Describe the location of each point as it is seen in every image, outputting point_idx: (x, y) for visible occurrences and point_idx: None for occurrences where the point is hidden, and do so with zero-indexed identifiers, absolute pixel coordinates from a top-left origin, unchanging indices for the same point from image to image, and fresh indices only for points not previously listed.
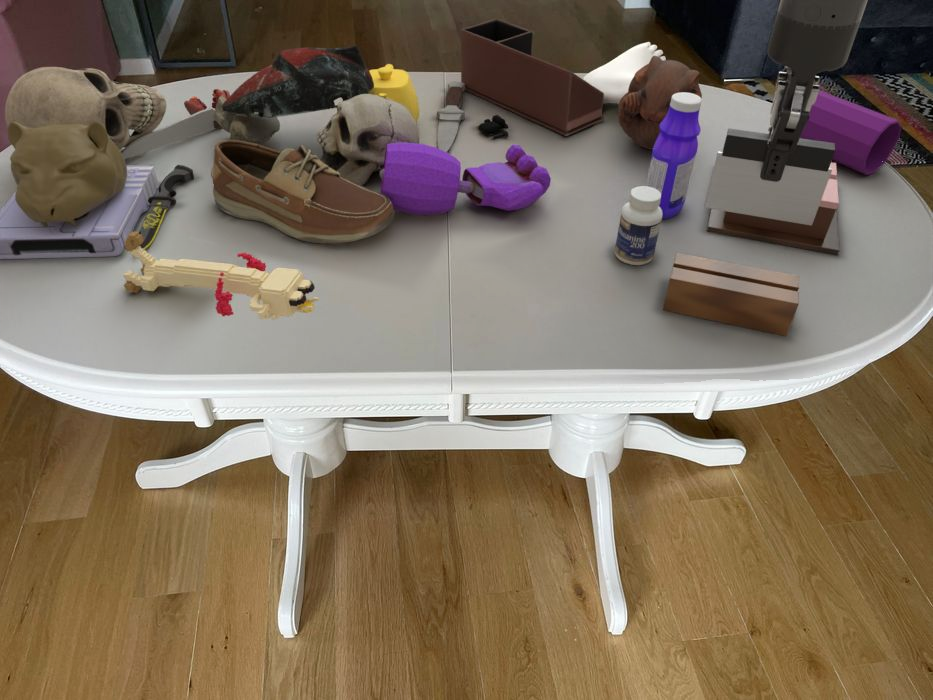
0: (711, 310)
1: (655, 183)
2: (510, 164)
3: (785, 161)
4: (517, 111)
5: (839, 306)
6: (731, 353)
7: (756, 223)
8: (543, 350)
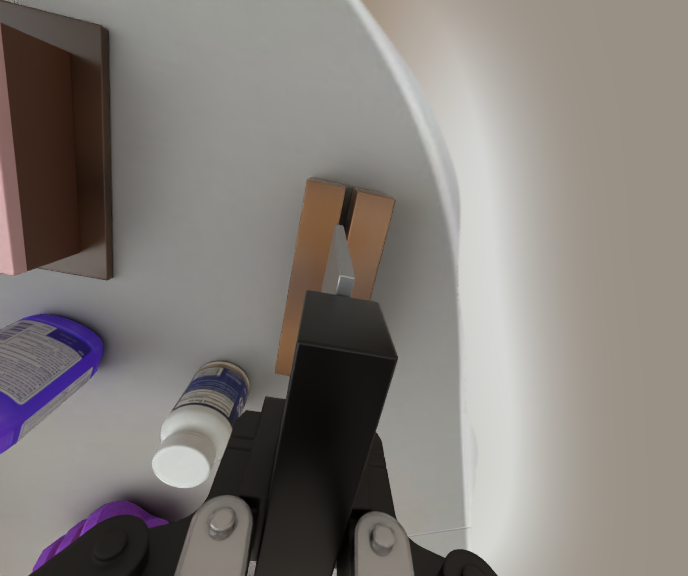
0: None
1: (59, 402)
2: None
3: (366, 468)
4: None
5: (289, 77)
6: (426, 276)
7: (70, 196)
8: (432, 465)
